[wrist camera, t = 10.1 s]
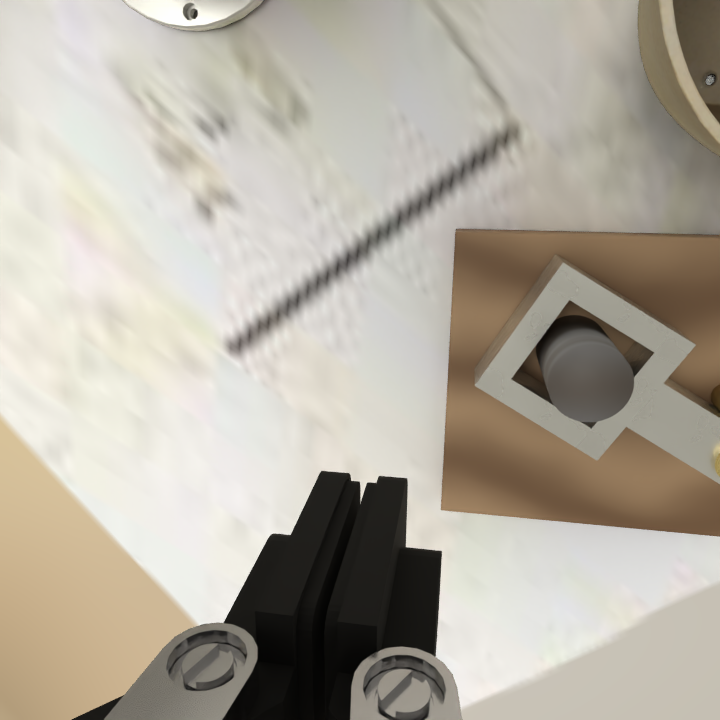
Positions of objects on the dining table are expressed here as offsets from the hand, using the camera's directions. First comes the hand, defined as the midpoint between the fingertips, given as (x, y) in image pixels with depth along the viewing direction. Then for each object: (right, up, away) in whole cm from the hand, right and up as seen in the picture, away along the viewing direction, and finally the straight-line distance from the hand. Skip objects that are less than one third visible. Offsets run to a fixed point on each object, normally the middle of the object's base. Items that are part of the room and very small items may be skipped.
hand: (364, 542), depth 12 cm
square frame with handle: (+15, +2, +24) cm, 28 cm away
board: (+14, +2, +26) cm, 30 cm away
